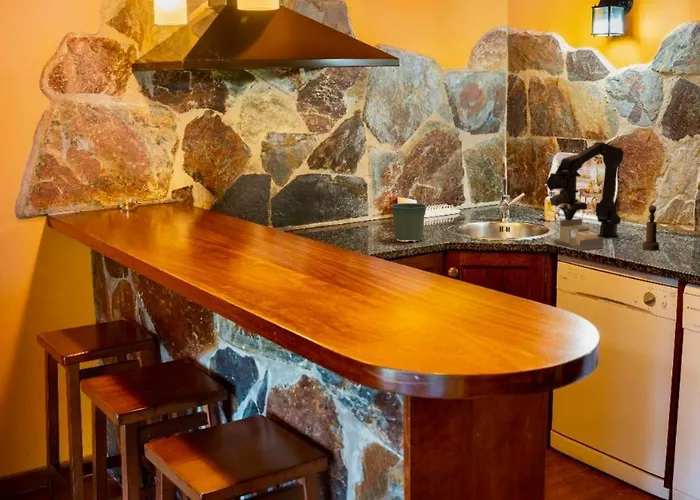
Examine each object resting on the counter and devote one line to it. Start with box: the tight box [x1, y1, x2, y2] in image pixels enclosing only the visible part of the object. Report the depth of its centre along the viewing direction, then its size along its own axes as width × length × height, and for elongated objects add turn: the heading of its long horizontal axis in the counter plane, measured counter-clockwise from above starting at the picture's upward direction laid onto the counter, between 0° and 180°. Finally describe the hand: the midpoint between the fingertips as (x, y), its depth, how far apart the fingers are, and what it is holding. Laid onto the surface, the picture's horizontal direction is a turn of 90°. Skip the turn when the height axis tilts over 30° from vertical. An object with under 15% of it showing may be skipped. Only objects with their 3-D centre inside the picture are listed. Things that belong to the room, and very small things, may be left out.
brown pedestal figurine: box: [642, 205, 660, 251], centre depth 334 cm, size 7×6×18 cm
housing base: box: [553, 237, 605, 251], centre depth 348 cm, size 11×20×4 cm, turn 19°
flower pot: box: [390, 202, 428, 240], centre depth 368 cm, size 16×16×16 cm
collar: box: [575, 231, 598, 245], centre depth 342 cm, size 6×6×5 cm
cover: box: [559, 218, 591, 243], centre depth 349 cm, size 10×7×9 cm
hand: (568, 223), depth 353 cm, fingers closed
